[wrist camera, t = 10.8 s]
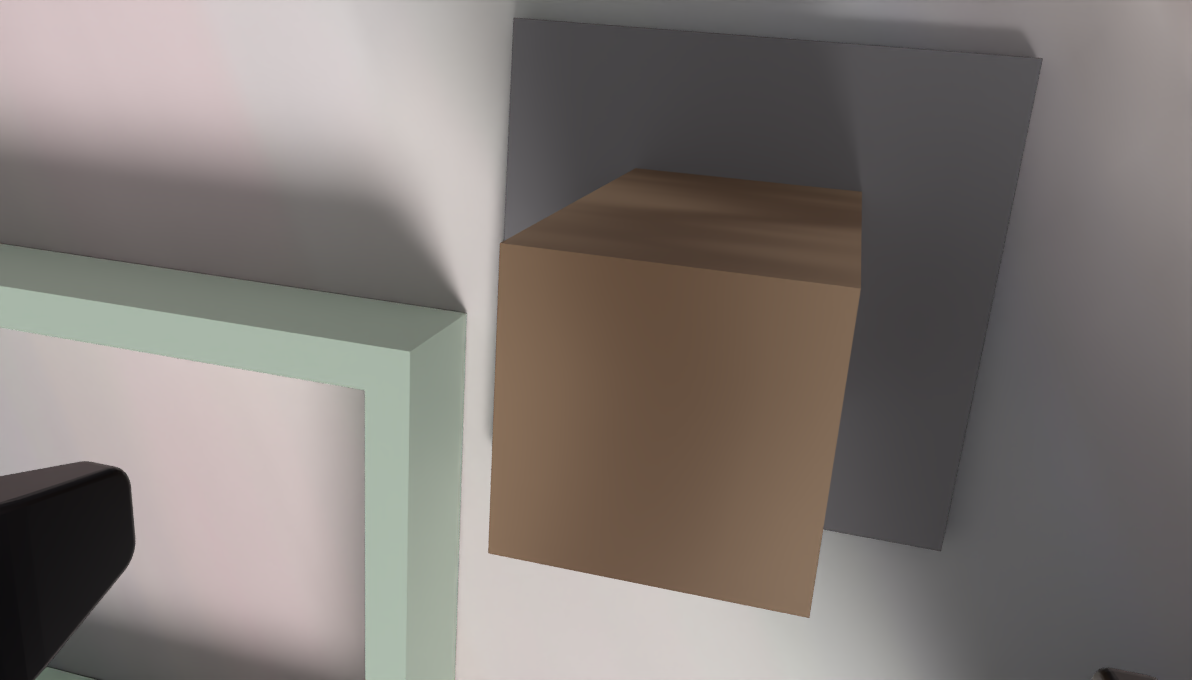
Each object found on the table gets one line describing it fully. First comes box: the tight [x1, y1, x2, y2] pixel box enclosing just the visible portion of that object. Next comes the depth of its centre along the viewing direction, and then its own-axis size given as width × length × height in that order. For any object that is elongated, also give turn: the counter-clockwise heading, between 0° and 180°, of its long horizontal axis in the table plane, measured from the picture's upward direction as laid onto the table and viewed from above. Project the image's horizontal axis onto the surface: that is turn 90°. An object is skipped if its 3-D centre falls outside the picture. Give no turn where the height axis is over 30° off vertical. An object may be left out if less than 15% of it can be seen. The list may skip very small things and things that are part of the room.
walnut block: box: [488, 168, 862, 618], centre depth 16 cm, size 4×4×8 cm
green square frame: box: [0, 244, 467, 680], centre depth 25 cm, size 17×14×3 cm
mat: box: [504, 18, 1043, 551], centre depth 20 cm, size 10×10×1 cm
